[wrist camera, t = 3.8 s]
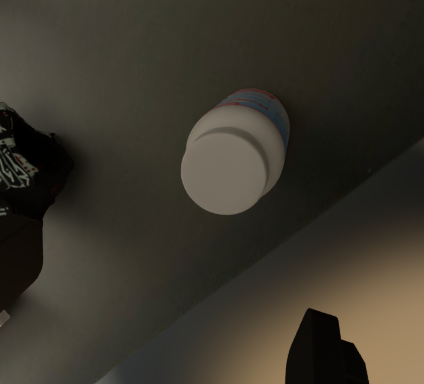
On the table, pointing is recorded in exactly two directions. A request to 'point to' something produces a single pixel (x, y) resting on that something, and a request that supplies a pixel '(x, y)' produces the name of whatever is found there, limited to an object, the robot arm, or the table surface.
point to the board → (3, 317)
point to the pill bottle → (236, 152)
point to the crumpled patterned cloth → (29, 167)
